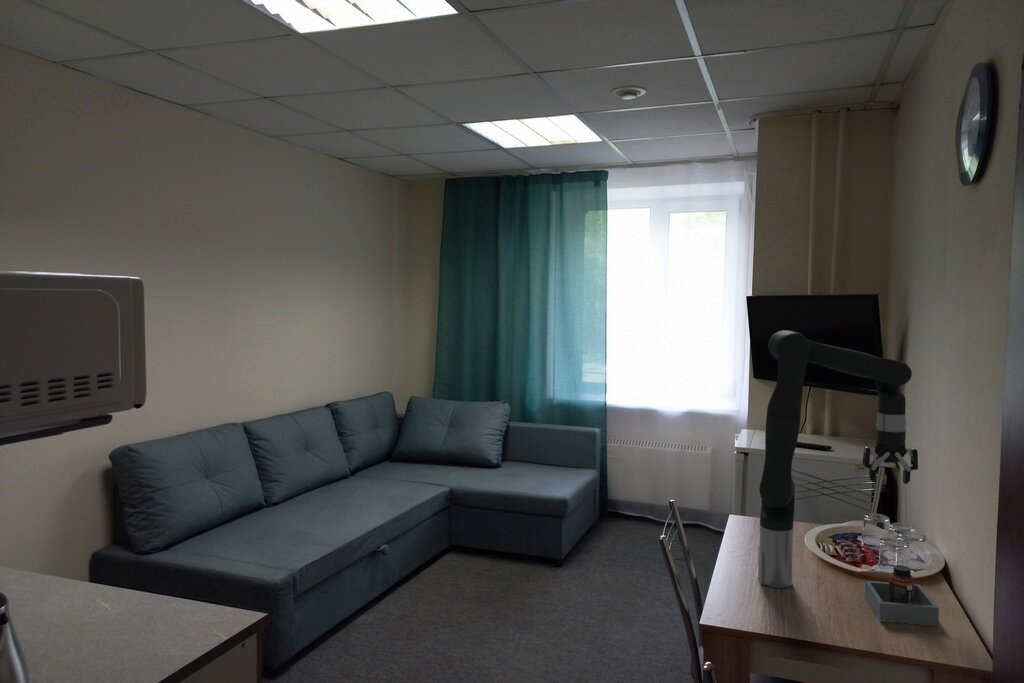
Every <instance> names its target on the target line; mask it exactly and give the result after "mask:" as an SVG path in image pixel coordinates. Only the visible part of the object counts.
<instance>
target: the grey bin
mask: <svg viewBox="0 0 1024 683" xmlns="http://www.w3.org/2000/svg"><path fill="white" fill-rule="evenodd" d="M864 587H865V588H864V599H865V600H866V602H867V604H868V603H869V604H868V605H869V607H870V606H871V607H870V609H871V608H872V609H873V610H872V609H871V610H872V612H873V611H874V612H873V614H874V613H875V614H876V615H875V614H874V615H875V616H877V617H878V618H877V617H876V618H877V620H878V619H879V620H885V621H893V622H900V623H899V624H904V623H908V624H907V625H916V624H919V625H920V626H929V627H930V626H931V627H933V626H934V627H939V616H940V615H939V614H940V613H939V612H940V607H939V606H938V605H937V604H936V602H935V601H934V600H933V598H931V596H930V594H928V592H927V591H926V590H925V589H924V587H922V585H921V584H917V583H914V604H904V603H891V602H889V581H887V582H885V581H875V580H874V581H873V580H865V582H864ZM879 620H878V621H879ZM919 625H918V626H919Z"/></svg>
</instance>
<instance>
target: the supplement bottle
mask: <svg viewBox="0 0 1024 683" xmlns="http://www.w3.org/2000/svg"><path fill="white" fill-rule="evenodd" d="M911 571H912V570H911V568H910V567H909V566H907V565H903V564H895V565H893V572H891V573H890V574H889V579H888V582H889V602H891V603H904V604H914V584H915V578H914V576H912V575H911V574H912V572H911Z"/></svg>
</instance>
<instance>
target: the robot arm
mask: <svg viewBox="0 0 1024 683" xmlns="http://www.w3.org/2000/svg"><path fill="white" fill-rule="evenodd" d="M767 345H768V346H767V348H768V351H769V353H770V355H771V356H772V357H773V358H774V359H776V360H777V361H778V368H777V369H778V370H777V371H778V372H777V380H776V384H775V387H774V390H773V392H772V393H771V396H770V398H769V401H768V402H767V403H768V404H767V408H766V417H765V418H766V419H765V435H764V436H765V438H764V439H765V441H764V444H765V445H764V447H765V450H764V451H765V455H764V456H765V458H764V464H763V470H762V476H761V479H760V484H759V489H758V490H759V495H760V498H761V508H760V516H759V546H758V556H757V557H758V560H757V561H758V563H757V564H758V566H757V568H758V570H757V576H758V581H759V583H760V585H761V586H762V585H764V586H766V585H767V586H766V587H771V588H775V589H785V588H790V587H791V586H792V584H793V557H794V556H793V555H794V553H793V551H794V549H793V548H794V547H793V546H794V519H795V500H796V499H795V497H796V496H795V495H796V494H795V493H796V486H795V482H794V479H793V478H792V465H793V458H794V455H795V451H796V447H797V443H798V439H799V434H800V427H801V417H802V403H803V393H804V392H803V391H804V381H805V376H806V375H805V374H806V370H807V367H808V366H807V365H808V364H810V363H811V364H815V365H818V366H822V367H825V368H828V369H831V370H833V371H837V372H839V373H844V374H848V375H851V376H854V377H861V378H866V379H871V380H874V384H875V388H876V392H877V396H878V401H877V402H878V404H877V406H878V407H877V416H876V423H875V424H876V425H875V427H876V433H875V434H876V435H875V436H876V439H875V446H874V447H870V446H867V445H865V446H864V447H863V455H862V456H863V457H862V463H861V464H862V466H863V467H865V469H866V468H867V469H868V474H869V475H868V477H869V480H870V481H871V482H872V483H874V484H875V483H876V482H877V470H876V469H877V468H878V467H879V466H881V465H882V463H885V464H889V463H892V464H898V463H899V464H900V465H901V466H902V467H903V470H902V483H903V484H905V485H908V484H909V483H910V481H911V472H912V471H914V470H915V471H916V470H918V469H919V458H918V457H919V456H918V455H919V454H918V450H917V448H915V447H910V448H906V435H907V434H906V432H907V418H906V404H907V403H906V402H907V401H906V397H905V395H904V393H902V392H901V390H900V386H903V385H905V384H908V383H909V382H910V381H911V379H912V375H913V372H912V369H911V367H910V366H909V365H908V364H907V363H905V362H904V361H901V360H900V361H899V360H895V359H890V358H885V357H880V356H879V357H878V356H875V355H874V354H873V355H872V354H870V353H866V352H862V351H859V350H854V349H850V348H845V347H840V346H834V345H829V344H824V343H821V342H817V341H813V340H811V339H808V338H807V337H805V336H804V334H802V333H800V332H796V331H794V330H787V329H785V330H780V331H777V332H775V333H773V334H772V335H771V336H770V338H769V340H768V344H767ZM874 452H875V454H876V456H875V457H874V458H873V460H872V461H871V462H870V460H871V455H873V453H874ZM906 455H908V456H910V464H908V463H907V461H906V460H905V459H904V457H905V456H906Z"/></svg>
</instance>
